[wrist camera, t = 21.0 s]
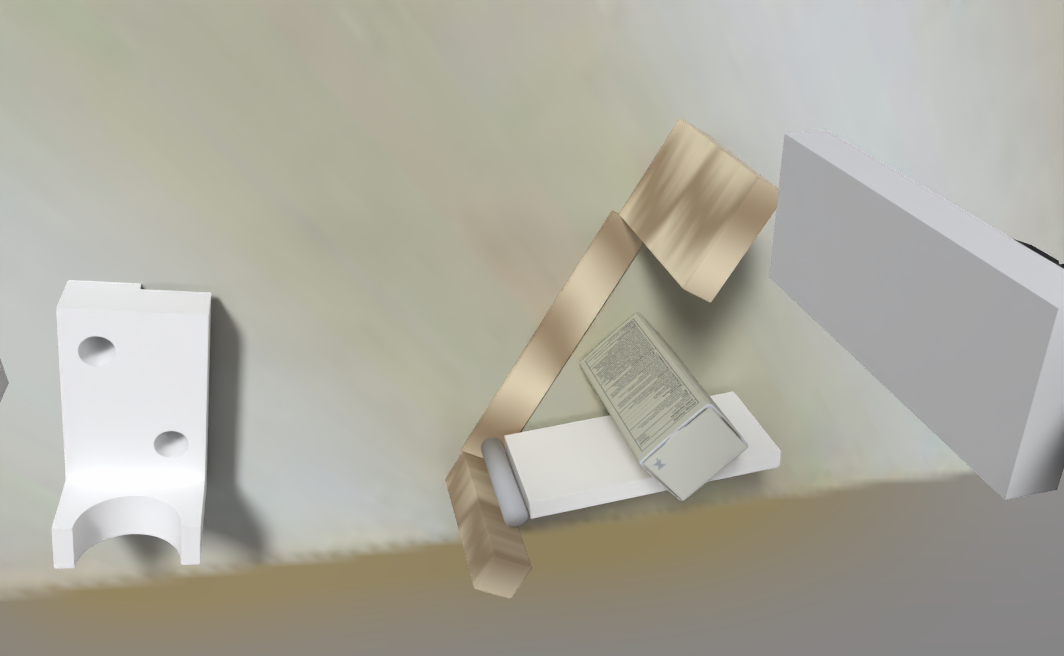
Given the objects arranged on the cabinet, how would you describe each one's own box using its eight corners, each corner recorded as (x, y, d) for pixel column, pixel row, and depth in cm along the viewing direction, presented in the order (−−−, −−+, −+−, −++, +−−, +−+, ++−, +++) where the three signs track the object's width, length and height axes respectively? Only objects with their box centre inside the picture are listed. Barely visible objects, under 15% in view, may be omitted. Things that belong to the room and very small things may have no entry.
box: (615, 400, 62) (678, 508, 52) (575, 361, 60) (634, 466, 50) (677, 348, 61) (753, 448, 52) (640, 307, 59) (711, 403, 49)
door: (482, 468, 61) (506, 541, 55) (479, 439, 60) (503, 510, 54) (731, 418, 64) (780, 482, 58) (733, 390, 63) (783, 452, 57)
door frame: (479, 491, 63) (513, 599, 54) (442, 478, 61) (471, 587, 53) (710, 136, 54) (793, 198, 46) (673, 114, 53) (751, 173, 45)
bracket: (207, 478, 57) (199, 564, 51) (78, 479, 55) (54, 568, 49) (212, 284, 52) (204, 353, 45) (68, 277, 50) (39, 348, 43)
